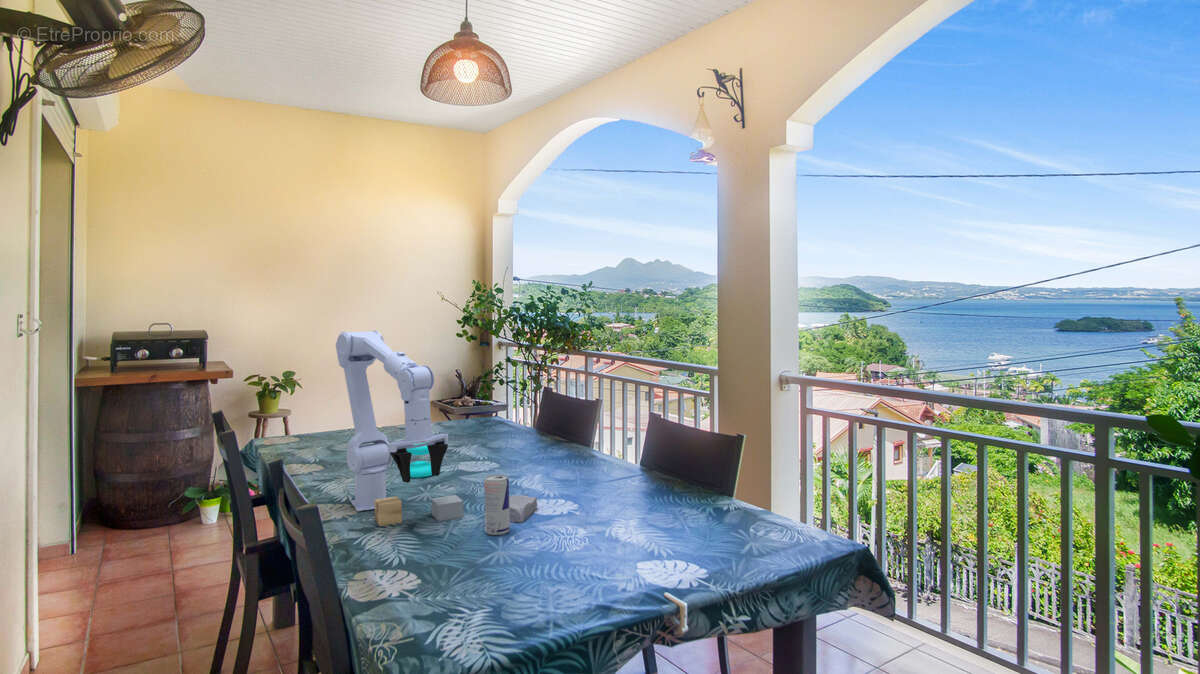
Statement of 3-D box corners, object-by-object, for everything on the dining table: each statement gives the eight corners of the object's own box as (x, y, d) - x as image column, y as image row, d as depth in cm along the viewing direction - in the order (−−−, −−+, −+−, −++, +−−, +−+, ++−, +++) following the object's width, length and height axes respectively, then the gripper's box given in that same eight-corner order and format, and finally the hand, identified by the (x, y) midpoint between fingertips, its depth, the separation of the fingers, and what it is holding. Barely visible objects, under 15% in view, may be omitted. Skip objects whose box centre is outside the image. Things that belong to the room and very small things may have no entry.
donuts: (408, 438, 197) (440, 438, 196) (409, 470, 197) (441, 470, 197) (397, 445, 187) (431, 444, 186) (398, 479, 187) (432, 478, 187)
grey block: (431, 515, 153) (431, 498, 153) (455, 511, 156) (455, 494, 156) (438, 522, 148) (438, 505, 148) (463, 517, 151) (463, 501, 151)
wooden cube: (375, 520, 149) (374, 499, 149) (397, 517, 152) (396, 496, 152) (379, 526, 145) (379, 505, 145) (402, 523, 147) (401, 501, 147)
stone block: (485, 529, 148) (525, 523, 146) (481, 509, 148) (521, 502, 146) (503, 515, 159) (541, 509, 157) (499, 496, 160) (537, 490, 158)
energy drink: (513, 528, 142) (513, 475, 142) (502, 536, 137) (501, 481, 137) (492, 526, 144) (491, 473, 144) (480, 534, 139) (479, 479, 139)
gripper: (398, 424, 138) (402, 487, 138) (454, 415, 149) (458, 474, 149) (381, 423, 143) (385, 483, 143) (437, 414, 154) (440, 471, 154)
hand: (421, 478), depth 146 cm, fingers open, 7 cm apart
